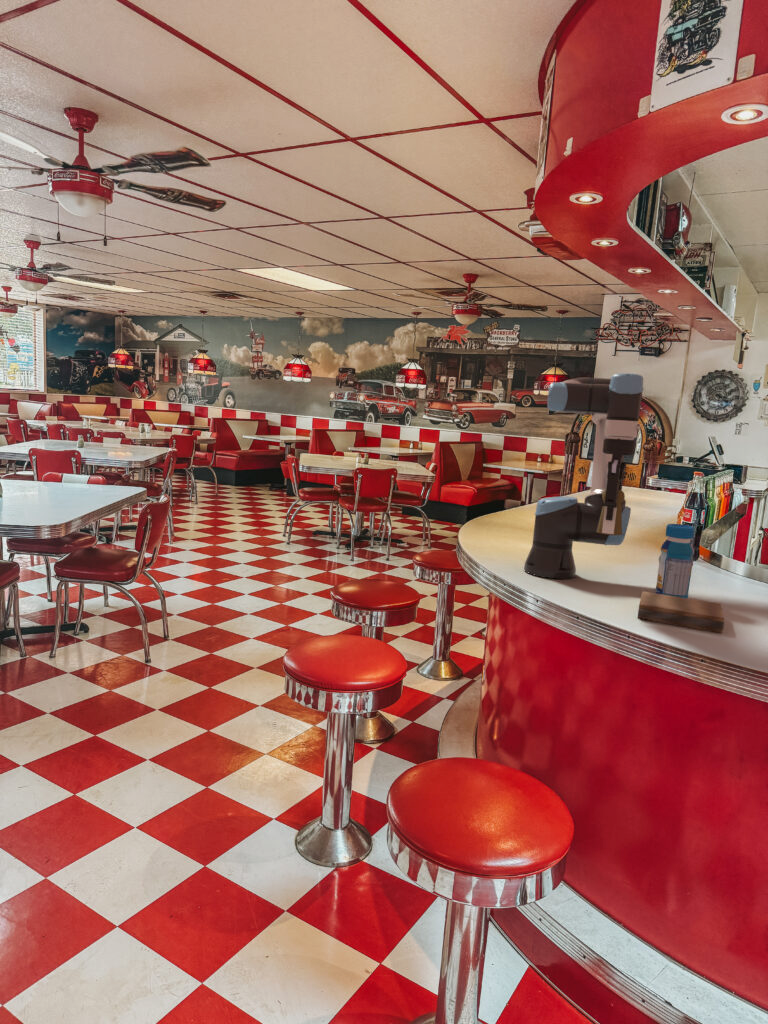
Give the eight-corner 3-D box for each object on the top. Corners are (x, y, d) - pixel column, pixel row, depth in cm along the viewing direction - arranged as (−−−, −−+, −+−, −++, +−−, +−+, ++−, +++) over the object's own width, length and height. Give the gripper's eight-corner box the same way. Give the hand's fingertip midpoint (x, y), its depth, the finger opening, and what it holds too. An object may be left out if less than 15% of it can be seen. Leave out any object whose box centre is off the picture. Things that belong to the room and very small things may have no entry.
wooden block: (637, 619, 152) (639, 605, 152) (640, 604, 166) (642, 591, 165) (722, 634, 145) (724, 619, 145) (718, 617, 159) (720, 603, 158)
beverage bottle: (673, 604, 168) (683, 529, 165) (647, 595, 176) (656, 523, 173) (695, 601, 172) (705, 528, 169) (668, 593, 180) (677, 522, 177)
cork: (621, 532, 162) (627, 489, 161) (622, 536, 157) (627, 491, 155) (596, 529, 164) (601, 487, 163) (596, 533, 159) (601, 489, 157)
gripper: (633, 439, 147) (621, 538, 150) (639, 439, 164) (628, 528, 167) (599, 437, 150) (588, 534, 153) (608, 437, 167) (598, 525, 170)
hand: (609, 531), depth 160 cm, fingers closed on cork, 6 cm apart
